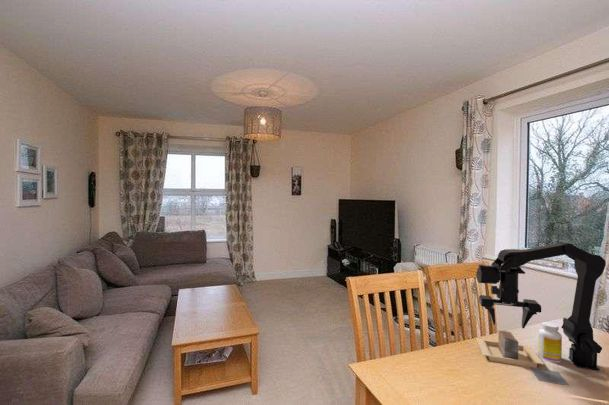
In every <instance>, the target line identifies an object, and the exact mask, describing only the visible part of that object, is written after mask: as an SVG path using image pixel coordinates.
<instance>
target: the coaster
mask: <svg viewBox="0 0 609 405" xmlns="http://www.w3.org/2000/svg"><path fill="white" fill-rule="evenodd" d="M529 369H531V371H532V373H533V374H534V376H536V379H537V380H538V381H539V382H545V383H552V384H555V385H556V384H558V385H564V386H568V387H570V386H571V385H570V384H569V383H568V382H567V381H566V379H565V377H563V375H562V374H561V373H560V371H557V370H556V371H555V370H550V369H543V368H538V367H537V368H534V367H529Z"/></svg>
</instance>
